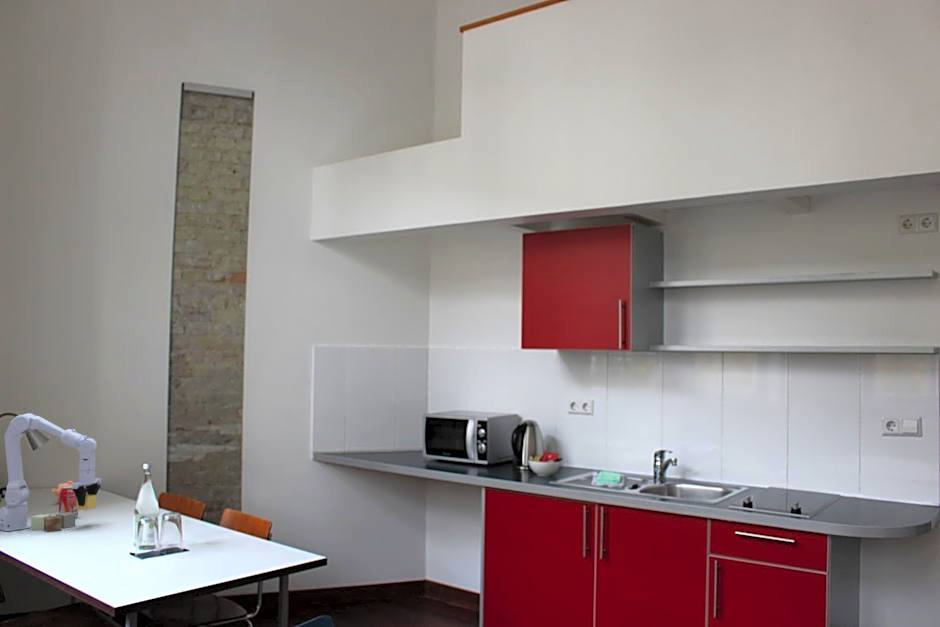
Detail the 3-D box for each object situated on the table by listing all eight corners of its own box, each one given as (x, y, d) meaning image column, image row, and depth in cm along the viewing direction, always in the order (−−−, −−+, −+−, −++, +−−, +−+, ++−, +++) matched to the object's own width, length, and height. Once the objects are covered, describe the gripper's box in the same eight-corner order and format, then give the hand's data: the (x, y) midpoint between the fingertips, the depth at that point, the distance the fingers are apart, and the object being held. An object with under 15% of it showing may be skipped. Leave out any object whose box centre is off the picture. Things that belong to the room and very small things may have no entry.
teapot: (51, 505, 386) (51, 483, 387) (60, 500, 398) (60, 479, 399) (78, 505, 388) (79, 483, 388) (87, 500, 400) (87, 478, 400)
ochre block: (87, 509, 341) (87, 497, 341) (76, 509, 342) (76, 496, 342) (96, 507, 346) (96, 494, 346) (85, 506, 347) (85, 494, 347)
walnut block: (47, 532, 333) (47, 519, 333) (44, 530, 337) (44, 517, 337) (61, 531, 336) (61, 517, 336) (58, 528, 340) (59, 515, 340)
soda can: (81, 516, 362) (81, 485, 363) (71, 520, 355) (72, 488, 356) (64, 516, 363) (65, 484, 363) (55, 520, 356) (55, 487, 356)
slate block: (63, 528, 340) (64, 515, 340) (55, 527, 343) (55, 514, 343) (75, 526, 345) (75, 513, 345) (67, 524, 347) (67, 512, 347)
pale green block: (43, 530, 337) (44, 517, 337) (31, 530, 337) (31, 517, 337) (50, 527, 342) (50, 514, 342) (37, 527, 342) (38, 514, 342)
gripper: (83, 472, 336) (82, 508, 336) (108, 467, 350) (107, 501, 350) (67, 471, 338) (66, 507, 338) (92, 466, 352) (92, 500, 352)
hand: (86, 504), depth 344 cm, fingers closed on ochre block, 5 cm apart
